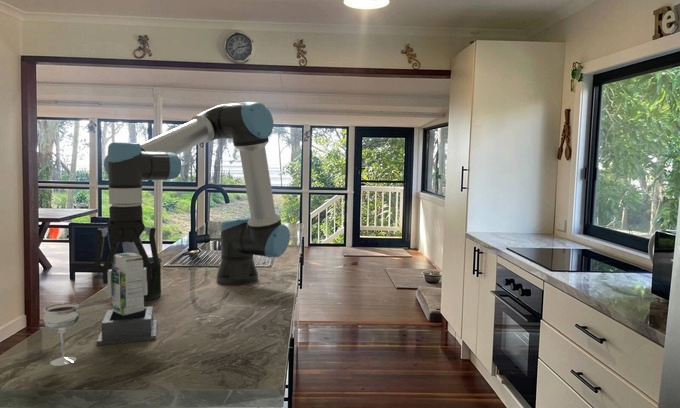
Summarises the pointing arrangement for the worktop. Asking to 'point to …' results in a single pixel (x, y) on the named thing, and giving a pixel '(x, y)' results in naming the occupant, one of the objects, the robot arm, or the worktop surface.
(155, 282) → the mug
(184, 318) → the worktop surface
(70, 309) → the wineglass
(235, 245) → the robot arm
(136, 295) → the syrup box
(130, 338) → the socket block
